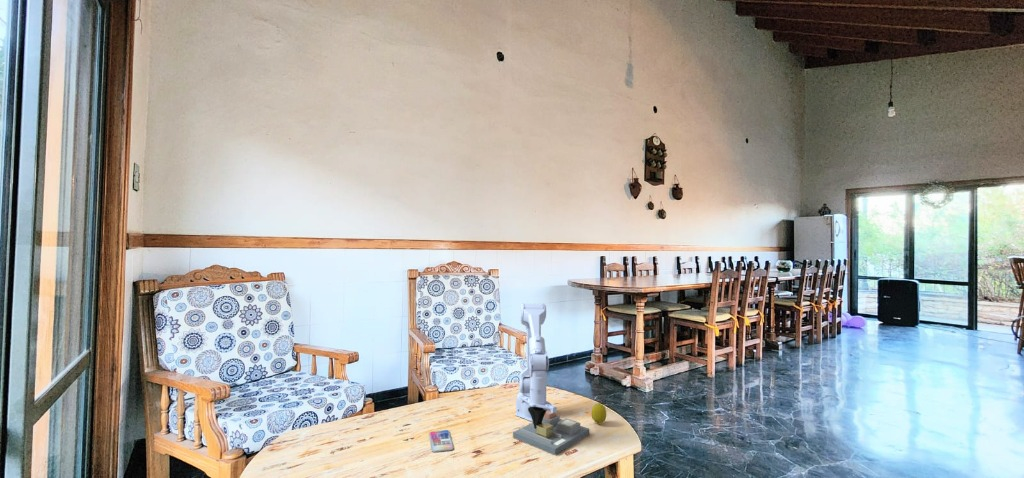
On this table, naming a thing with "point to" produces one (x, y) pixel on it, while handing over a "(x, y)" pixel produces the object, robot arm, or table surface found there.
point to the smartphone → (440, 441)
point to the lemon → (599, 413)
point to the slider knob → (544, 430)
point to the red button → (549, 415)
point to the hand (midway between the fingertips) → (537, 427)
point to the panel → (555, 443)
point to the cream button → (568, 423)
